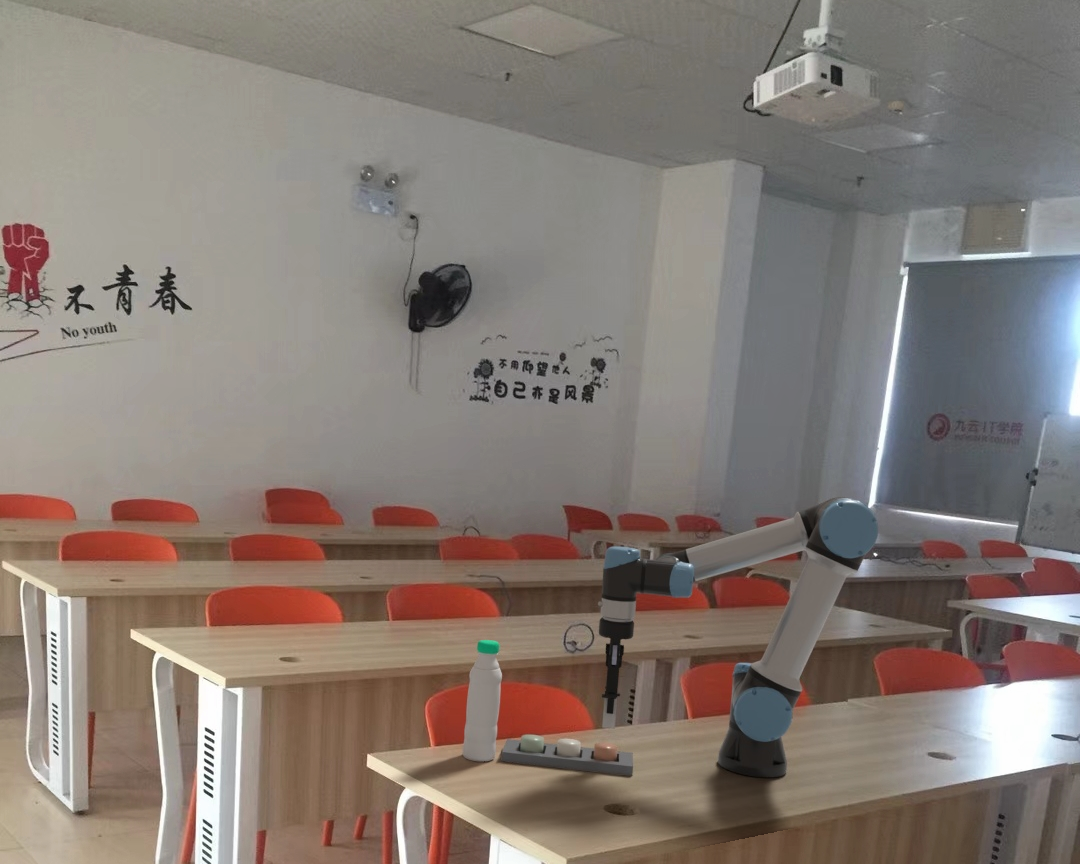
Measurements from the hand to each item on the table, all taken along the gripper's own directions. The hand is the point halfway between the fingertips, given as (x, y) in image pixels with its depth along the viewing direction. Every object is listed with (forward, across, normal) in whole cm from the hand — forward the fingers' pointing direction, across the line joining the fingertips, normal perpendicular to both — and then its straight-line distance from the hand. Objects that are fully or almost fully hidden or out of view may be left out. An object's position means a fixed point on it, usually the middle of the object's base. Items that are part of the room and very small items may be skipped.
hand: (608, 727), depth 229 cm
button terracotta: (+8, 0, 0) cm, 8 cm away
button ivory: (+8, 0, -8) cm, 12 cm away
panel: (+8, 0, -8) cm, 12 cm away
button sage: (+8, 0, -16) cm, 18 cm away
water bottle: (+8, +4, -27) cm, 29 cm away
